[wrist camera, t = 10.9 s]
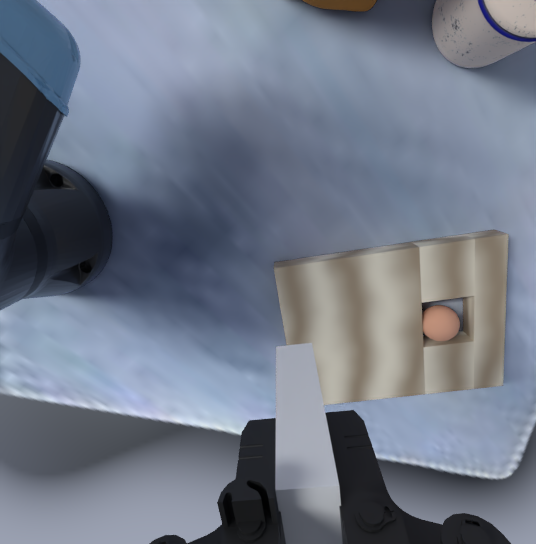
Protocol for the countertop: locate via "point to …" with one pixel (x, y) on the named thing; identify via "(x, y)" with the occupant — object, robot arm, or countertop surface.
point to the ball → (440, 323)
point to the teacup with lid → (482, 29)
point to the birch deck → (398, 316)
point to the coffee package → (343, 4)
